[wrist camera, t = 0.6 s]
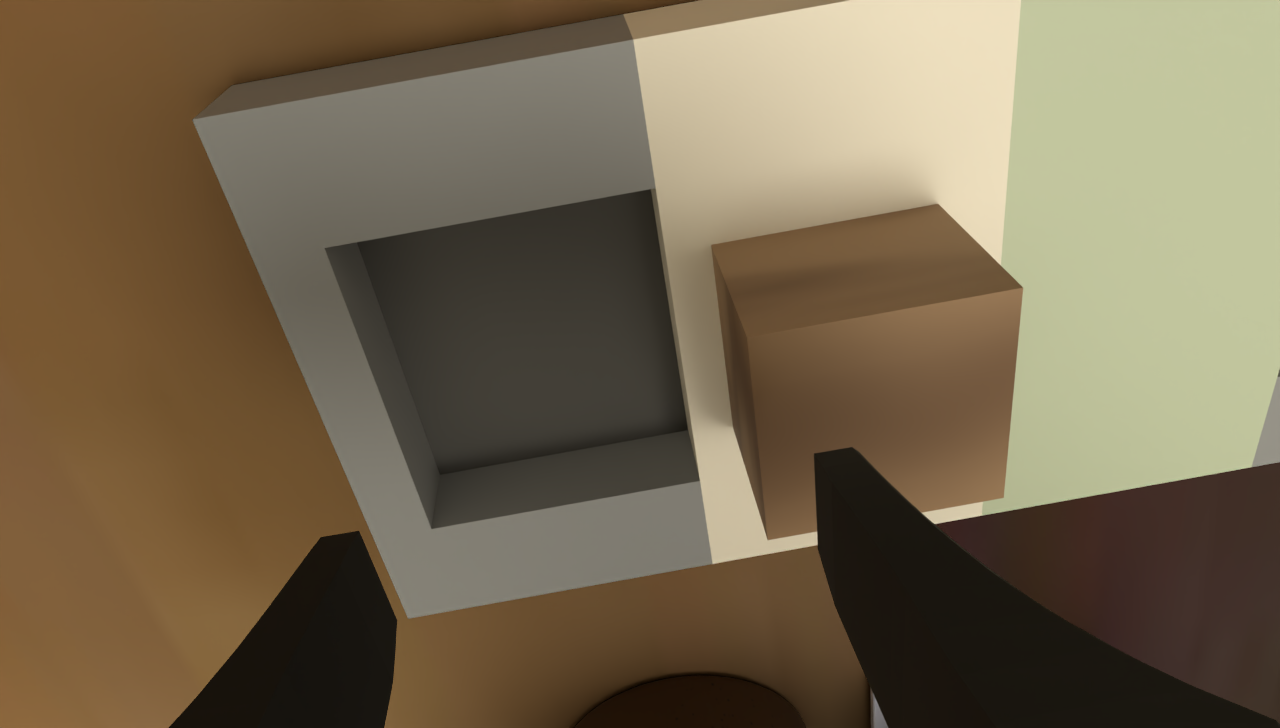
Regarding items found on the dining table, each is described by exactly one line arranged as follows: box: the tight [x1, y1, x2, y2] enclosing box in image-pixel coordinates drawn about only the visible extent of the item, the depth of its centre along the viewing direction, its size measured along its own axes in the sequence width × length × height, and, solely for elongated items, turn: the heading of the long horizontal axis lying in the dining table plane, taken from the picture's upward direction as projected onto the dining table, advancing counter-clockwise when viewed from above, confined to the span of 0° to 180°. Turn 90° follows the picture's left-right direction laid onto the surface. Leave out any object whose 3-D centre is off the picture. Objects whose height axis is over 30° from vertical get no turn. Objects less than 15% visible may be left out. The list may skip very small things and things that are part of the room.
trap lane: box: [192, 0, 1280, 619], centre depth 21 cm, size 14×32×2 cm, turn 98°
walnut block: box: [711, 204, 1023, 540], centre depth 19 cm, size 5×5×4 cm
